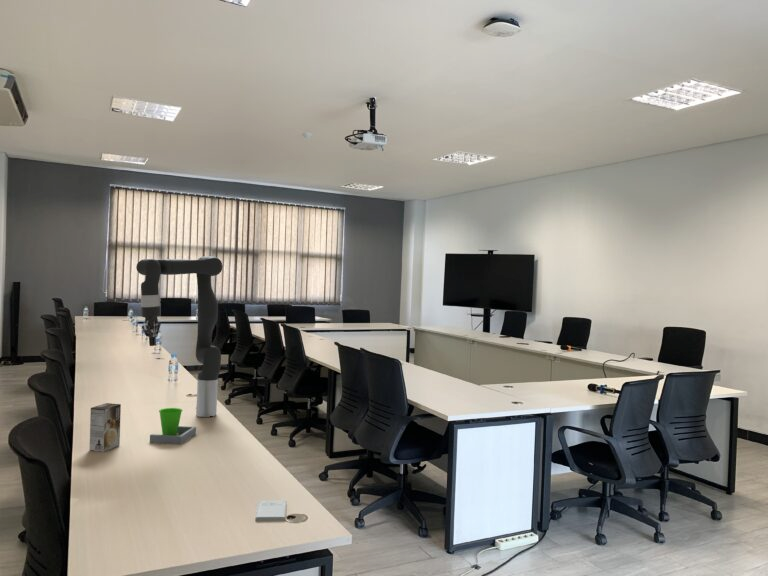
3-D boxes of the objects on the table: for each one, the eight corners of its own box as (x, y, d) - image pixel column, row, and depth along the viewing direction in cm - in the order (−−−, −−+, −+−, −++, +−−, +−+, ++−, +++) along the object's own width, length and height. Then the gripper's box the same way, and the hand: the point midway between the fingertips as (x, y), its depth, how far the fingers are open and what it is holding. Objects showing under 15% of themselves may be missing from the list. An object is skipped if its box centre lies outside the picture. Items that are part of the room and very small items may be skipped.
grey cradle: (166, 432, 243) (166, 425, 243) (195, 434, 242) (196, 426, 242) (149, 442, 228) (150, 434, 228) (181, 444, 227) (181, 436, 227)
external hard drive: (255, 522, 160) (258, 505, 172) (285, 522, 161) (286, 505, 174) (255, 517, 160) (258, 499, 172) (285, 516, 161) (286, 499, 174)
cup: (184, 434, 241) (185, 408, 240) (176, 440, 232) (177, 413, 231) (162, 433, 241) (164, 407, 240) (154, 439, 232) (155, 412, 231)
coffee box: (105, 444, 223) (106, 402, 223) (120, 445, 222) (121, 403, 222) (88, 450, 214) (90, 407, 214) (103, 452, 213) (105, 409, 213)
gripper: (152, 306, 242) (154, 348, 242) (165, 304, 255) (167, 343, 256) (134, 307, 242) (136, 348, 243) (149, 304, 255) (151, 343, 256)
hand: (152, 345), depth 249 cm, fingers closed
